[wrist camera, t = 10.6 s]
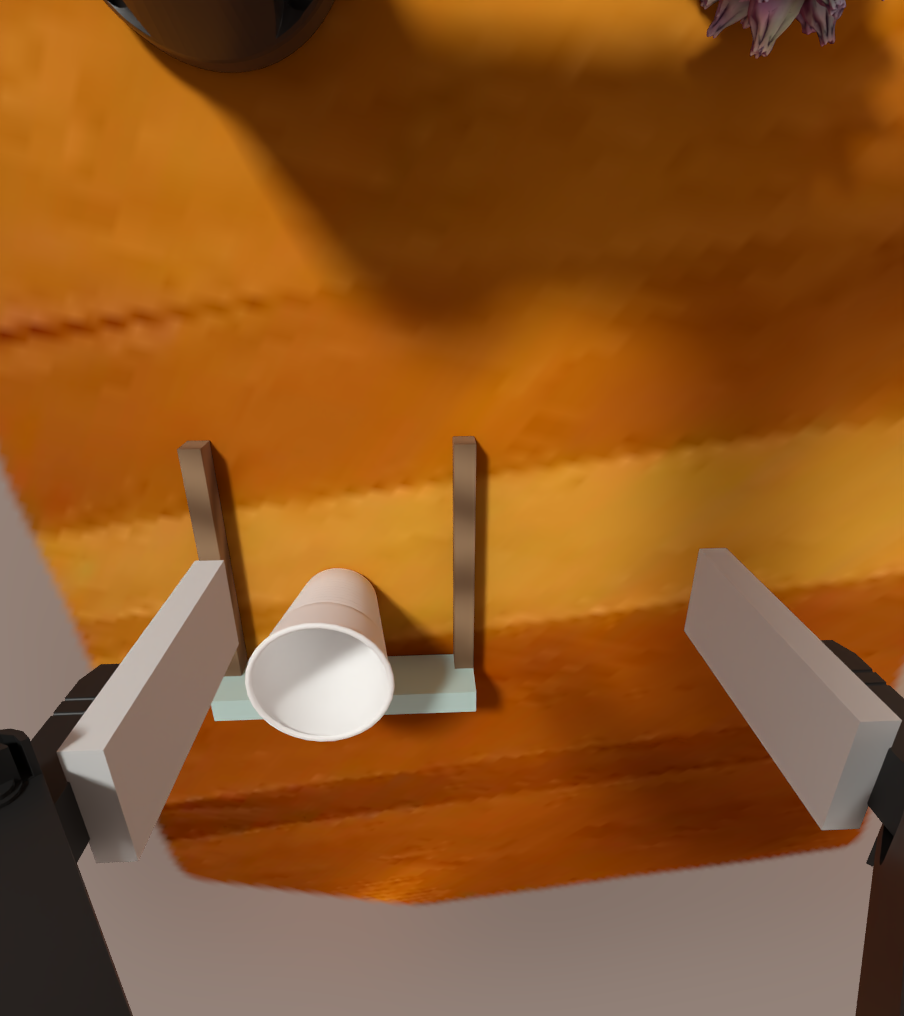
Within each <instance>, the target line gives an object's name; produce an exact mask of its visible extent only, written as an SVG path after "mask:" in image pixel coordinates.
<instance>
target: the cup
mask: <svg viewBox="0 0 904 1016" xmlns="http://www.w3.org/2000/svg"><path fill="white" fill-rule="evenodd" d="M245 685H246V690H247V695H248V697H249V699H250V702H251V704H252V706H253V707H254V708H255V710H256V711H257V712H258V714H259V715H260V716H261V717H262V718H263V719H264V720H265V721H266V722H267V723H269V724H270V725H271V726H273V727H275V728H276V729H278V730H279V731H281V732H283V733H286V734H288V735H290V736H293V737H296V738H300V739H304V740H311V741H336V740H341V739H346V738H349V737H352V736H355V735H357V734H360V733H362V732H364V731H365V730H367V729H369V728H370V727H372V726H373V725H374V724H375V723H376V722H377V721H379V720H380V719H381V718H382V716H383V715H384V714H385V712H386V711H387V710H388V708H389V705H390V703H391V701H392V699H393V694H394V688H395V683H394V674H393V671H392V667H391V664H390V662H389V661H388V657H387V651H386V646H385V641H384V635H383V630H382V624H381V618H380V613H379V606H378V601H377V596H376V592H375V590H374V588H373V586H372V584H371V583H370V582H369V581H368V580H367V579H366V578H365V577H364V576H362V575H361V574H359V573H357V572H355V571H352V570H349V569H343V568H333V569H328V570H324V571H322V572H320V573H318V574H316V575H315V576H313V577H312V578H311V579H310V580H309V581H308V582H307V584H306V585H305V587H304V588H303V589H302V591H301V592H300V594H299V595H298V597H297V598H296V599H295V601H294V602H293V603H292V605H291V606H290V608H289V609H288V610H287V612H286V613H285V615H284V616H283V617H282V619H281V620H280V622H279V623H278V624H277V625H276V627H275V628H274V630H273V631H272V632H271V634H270V635H269V636H268V637H267V638H266V639H265V640H264V641H263V642H262V643H261V644H260V645H259V646H258V647H257V648H256V649H255V651H254V652H253V654H252V655H251V657H250V659H249V662H248V665H247V668H246V673H245Z"/></svg>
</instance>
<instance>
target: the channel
mask: <svg viewBox="0 0 904 1016" xmlns="http://www.w3.org/2000/svg"><path fill="white" fill-rule="evenodd" d="M177 451H178V456H179V461H180V466H181V471H182V476H183V481H184V486H185V491H186V497H187V502H188V507H189V512H190V517H191V522H192V527H193V532H194V537H195V542H196V547H197V552H198V557H199V561H210V560H224V563H225V569H226V575H227V580H228V586H229V591H230V597H231V603H232V608H233V614H234V619H235V625H236V631H237V636H238V642H239V645H238V647H237V649H236V651H235V653H234V656H233V658H232V660H231V662H230V664H229V666H228V669H227V671H226V673H225V675H224V677H225V676H242V673H243V671H244V669H245V666H246V664H247V662H248V659H247V653H246V648H245V642H244V636H243V630H242V625H241V619H240V613H239V607H238V602H237V596H236V590H235V584H234V579H233V573H232V567H231V561H230V556H229V550H228V544H227V538H226V533H225V527H224V521H223V515H222V510H221V504H220V498H219V493H218V487H217V481H216V475H215V470H214V464H213V458H212V452H211V447H210V441H187V442H186V443H184V444H183V445H182V446H181V447H180V448H178V449H177ZM475 505H476V441H475V438H474V436H457V437H453V654H454V667H455V669H463V668H473V652H474V579H475Z"/></svg>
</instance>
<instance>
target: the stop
mask: <svg viewBox="0 0 904 1016" xmlns="http://www.w3.org/2000/svg"><path fill="white" fill-rule="evenodd" d="M387 657H388V661H389V662H390V664H391V667H392V671H393V674H394V683H395V688H394V694H393V699H392V701H391V703H390V705H389V708H388V710H387V711H386V712H385V714H384V715H390V714H417V713H445V712H472V711H476V686H475V678H474V670H473V668H463V669H455V667H454V654H443V655H413V656H387ZM248 662H249V661H248ZM248 662H247V664H246V666H245V669H244V671H243V673H242V676H225V677H223V679H222V682H221V684H220V686H219V688H218V690H217V692H216V694H215V697H214V699H213V701H212V703H211V706H212V711H213V716H214V720H215V721H226V720H253V719H263V718H262V717H261V716H260V715H259V714H258V712H257V711H256V710H255V708H254V707H253V706H252V704H251V702H250V699H249V697H248V695H247V690H246V685H245V673H246V668H247V665H248Z"/></svg>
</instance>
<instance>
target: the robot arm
mask: <svg viewBox="0 0 904 1016" xmlns="http://www.w3.org/2000/svg"><path fill="white" fill-rule="evenodd" d="M103 1H104V2H105V3H106V4H107V5H108V6H109V7H110V9H111V10H112V11H113V12H114V13H115V14H116V15H117V16H118V17H119V18H121V19H122V20H123V21H124V22H125V23H126V24H127V25H128V26H130V27H131V28H132V29H133V30H135V31H136V32H137V33H139V34H140V35H141V36H142V37H144V38H145V39H146V40H148V41H149V42H150V43H151V44H153V45H154V46H156V47H157V48H159V49H160V50H162V51H163V52H165V53H167V54H168V55H170V56H172V57H174V58H176V59H178V60H180V61H182V62H185V63H187V64H190V65H192V66H195V67H199V68H202V69H206V70H211V71H218V72H246V71H252V70H256V69H260V68H264V67H267V66H269V65H272V64H274V63H276V62H278V61H280V60H282V59H284V58H286V57H287V56H289V55H290V54H292V53H293V52H295V51H296V50H297V49H298V48H300V47H301V46H302V45H303V44H304V43H305V42H306V41H307V40H308V39H309V38H310V37H311V36H312V35H313V34H314V32H315V31H316V30H317V29H318V27H319V26H320V25H321V23H322V22H323V20H324V19H325V17H326V15H327V14H328V12H329V10H330V8H331V6H332V4H333V2H334V0H103ZM684 631H685V633H686V634H687V636H688V637H689V638H690V640H691V641H692V643H693V644H694V646H695V647H696V649H697V650H698V652H699V653H700V654H701V656H702V657H703V659H704V660H705V662H706V663H707V665H708V666H709V667H710V669H711V670H712V672H713V673H714V675H715V676H716V678H717V679H718V681H719V682H720V683H721V685H722V686H723V688H724V689H725V691H726V692H727V694H728V695H729V697H730V698H731V699H732V701H733V702H734V704H735V705H736V707H737V708H738V710H739V711H740V712H741V714H742V715H743V717H744V718H745V720H746V721H747V723H748V724H749V726H750V727H751V728H752V730H753V731H754V733H755V734H756V736H757V737H758V739H759V740H760V742H761V743H762V744H763V746H764V747H765V749H766V750H767V752H768V753H769V755H770V756H771V757H772V759H773V760H774V762H775V763H776V765H777V766H778V768H779V769H780V771H781V772H782V773H783V775H784V776H785V778H786V779H787V781H788V782H789V784H790V785H791V787H792V788H793V789H794V791H795V792H796V794H797V795H798V797H799V798H800V800H801V801H802V802H803V804H804V805H805V807H806V808H807V810H808V811H809V813H810V814H811V816H812V817H813V818H814V820H815V821H816V823H817V824H818V826H819V827H820V829H821V830H839V829H860V826H861V823H862V821H863V818H864V816H865V813H866V811H867V808H868V806H869V807H870V808H871V809H872V811H873V812H874V813H875V814H876V816H877V817H878V818H879V819H880V821H881V822H882V823H883V824H882V826H881V829H880V831H879V834H878V836H877V838H876V841H875V843H874V846H873V848H872V850H871V853H870V855H869V858H868V860H867V864H869V865H871V866H874V867H873V876H872V884H871V893H870V900H869V909H868V917H867V926H866V933H865V942H864V950H863V958H862V967H861V975H860V983H859V991H858V1000H857V1008H856V1016H904V698H903V697H901V696H900V695H899V694H898V693H897V692H896V691H895V690H894V689H893V688H892V687H891V686H890V685H888V686H887V685H886V682H885V681H884V680H883V679H882V678H881V677H880V676H879V675H878V674H877V673H876V672H872V669H871V668H870V667H869V666H868V665H867V664H866V663H865V662H864V661H863V660H862V659H861V658H860V657H858V656H857V655H856V654H855V653H853V652H852V651H850V650H848V649H847V648H845V647H843V646H841V645H840V644H838V643H836V642H834V641H833V640H819V639H818V638H817V637H816V636H815V635H814V634H813V633H812V632H811V631H810V630H809V629H808V628H807V627H806V626H805V625H804V624H803V623H802V622H801V621H800V620H799V619H798V618H797V617H796V616H795V615H794V614H793V613H792V612H791V611H790V610H789V609H788V608H787V607H786V606H785V605H784V604H783V603H782V602H781V601H780V600H779V599H778V598H777V597H776V596H775V595H774V594H773V593H772V592H771V591H769V590H768V589H767V588H766V587H765V586H764V585H763V584H762V583H761V582H760V581H759V580H758V579H757V578H756V577H755V576H754V575H753V574H752V573H751V572H750V571H749V570H748V569H747V568H746V567H745V566H744V565H743V564H742V563H741V562H740V561H739V560H738V559H737V558H736V557H735V556H734V555H733V554H732V553H731V552H730V551H729V550H728V549H727V548H706V549H699V553H698V559H697V564H696V569H695V575H694V580H693V586H692V591H691V596H690V602H689V607H688V612H687V618H686V623H685V628H684ZM238 645H239V642H238V636H237V631H236V625H235V619H234V614H233V608H232V603H231V597H230V591H229V586H228V580H227V575H226V569H225V563H224V560H210V561H195V562H194V563H193V565H192V566H191V567H190V569H189V570H188V571H187V573H186V574H185V576H184V577H183V578H182V580H181V581H180V582H179V584H178V585H177V587H176V588H175V589H174V591H173V592H172V593H171V595H170V596H169V598H168V599H167V600H166V602H165V603H164V604H163V606H162V607H161V609H160V610H159V611H158V613H157V614H156V615H155V617H154V618H153V620H152V621H151V622H150V624H149V625H148V626H147V628H146V629H145V631H144V632H143V633H142V635H141V636H140V637H139V639H138V640H137V642H136V643H135V644H134V646H133V647H132V648H131V650H130V651H129V653H128V654H127V655H126V657H125V658H124V659H123V661H122V662H121V664H101V665H99V666H98V667H97V668H95V669H94V670H93V671H91V672H90V673H88V674H87V675H86V676H84V677H83V678H82V679H80V680H79V681H78V682H77V684H76V685H75V686H74V687H73V689H72V690H71V691H70V692H69V694H68V695H67V696H66V697H65V701H63V702H61V704H60V705H59V706H58V707H57V709H56V710H55V711H54V715H53V716H51V717H50V718H49V719H48V720H47V721H46V723H45V724H44V725H43V727H42V728H41V729H40V730H39V731H38V733H37V734H36V735H35V736H34V738H33V739H32V741H30V739H29V737H27V735H26V734H25V733H24V732H23V731H19V730H14V729H3V730H0V1016H133V1015H132V1012H131V1009H130V1007H129V1004H128V1001H127V998H126V996H125V993H124V990H123V987H122V985H121V982H120V979H119V977H118V974H117V971H116V968H115V966H114V963H113V960H112V958H111V955H110V952H109V949H108V947H107V944H106V941H105V939H104V936H103V933H102V931H101V928H100V925H99V922H98V920H97V917H96V914H95V911H94V909H93V906H92V903H91V901H90V898H89V895H88V892H87V890H86V887H85V884H84V882H83V879H82V876H81V873H80V871H79V868H78V865H77V862H78V860H79V858H80V856H81V855H82V853H83V851H84V849H85V847H86V846H87V844H88V842H89V844H90V847H91V850H92V852H93V855H94V858H95V861H96V863H109V862H129V861H130V862H131V861H139V859H140V857H141V854H142V852H143V850H144V848H145V846H146V843H147V841H148V839H149V837H150V835H151V833H152V831H153V828H154V826H155V824H156V822H157V820H158V818H159V815H160V813H161V811H162V809H163V807H164V805H165V803H166V800H167V798H168V796H169V794H170V792H171V790H172V787H173V785H174V783H175V781H176V779H177V777H178V774H179V772H180V770H181V768H182V766H183V764H184V761H185V759H186V757H187V755H188V753H189V751H190V749H191V746H192V744H193V742H194V740H195V738H196V736H197V733H198V731H199V729H200V727H201V725H202V723H203V720H204V718H205V716H206V714H207V712H208V710H209V707H210V705H211V703H212V701H213V699H214V697H215V694H216V692H217V690H218V688H219V686H220V684H221V682H222V679H223V677H224V675H225V673H226V671H227V669H228V666H229V664H230V662H231V660H232V658H233V656H234V653H235V651H236V649H237V647H238Z"/></svg>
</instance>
